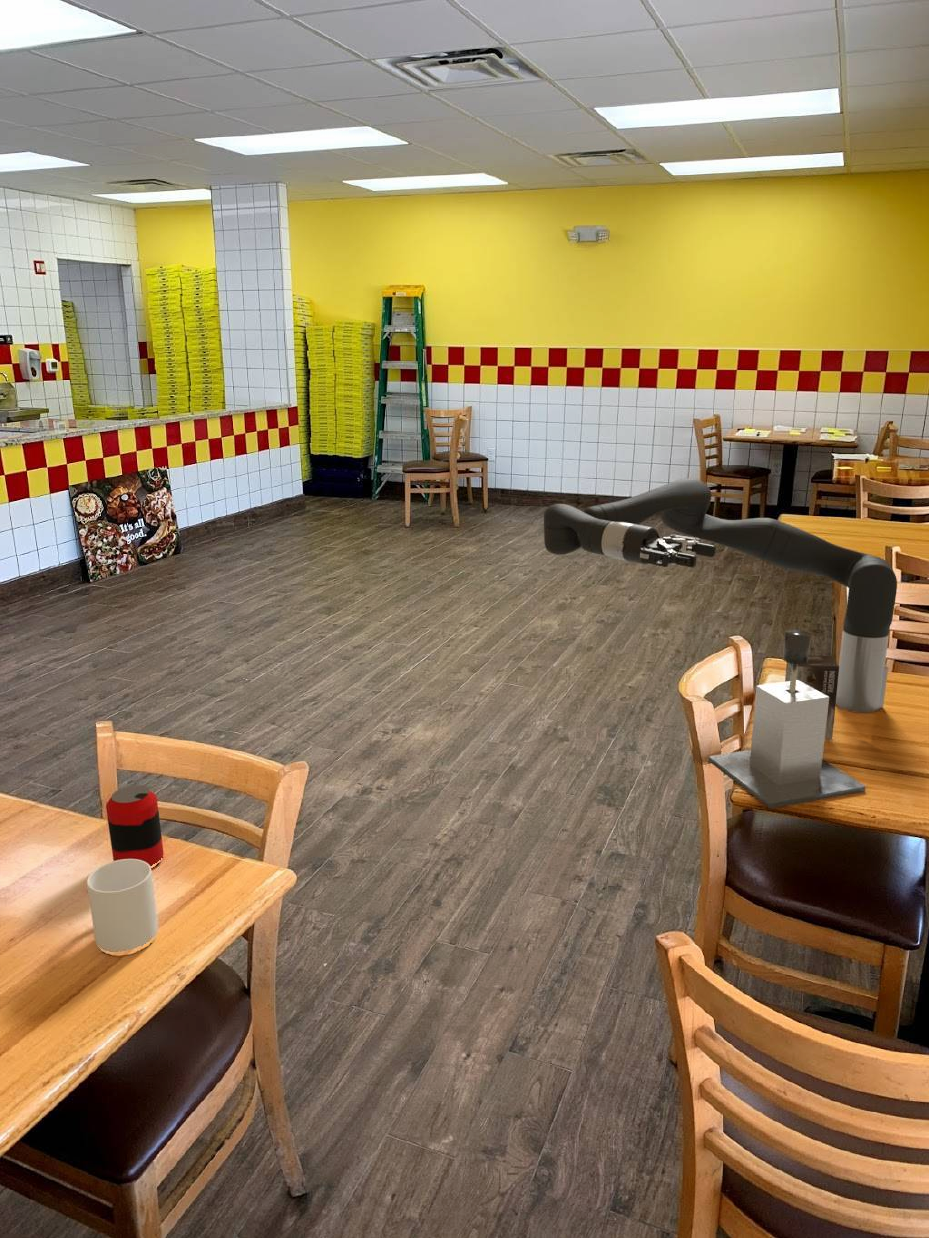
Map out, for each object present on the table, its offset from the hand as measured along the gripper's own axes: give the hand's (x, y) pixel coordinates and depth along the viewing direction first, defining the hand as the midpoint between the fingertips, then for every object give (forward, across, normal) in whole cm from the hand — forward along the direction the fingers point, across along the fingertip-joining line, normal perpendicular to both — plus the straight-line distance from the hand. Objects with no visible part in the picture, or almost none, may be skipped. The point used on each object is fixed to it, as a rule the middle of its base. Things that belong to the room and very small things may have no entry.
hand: (705, 556), depth 176 cm
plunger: (+21, +4, -32) cm, 38 cm away
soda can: (-49, +95, -38) cm, 114 cm away
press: (+21, +4, -38) cm, 44 cm away
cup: (-34, +107, -36) cm, 118 cm away
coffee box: (+18, -18, -39) cm, 47 cm away
